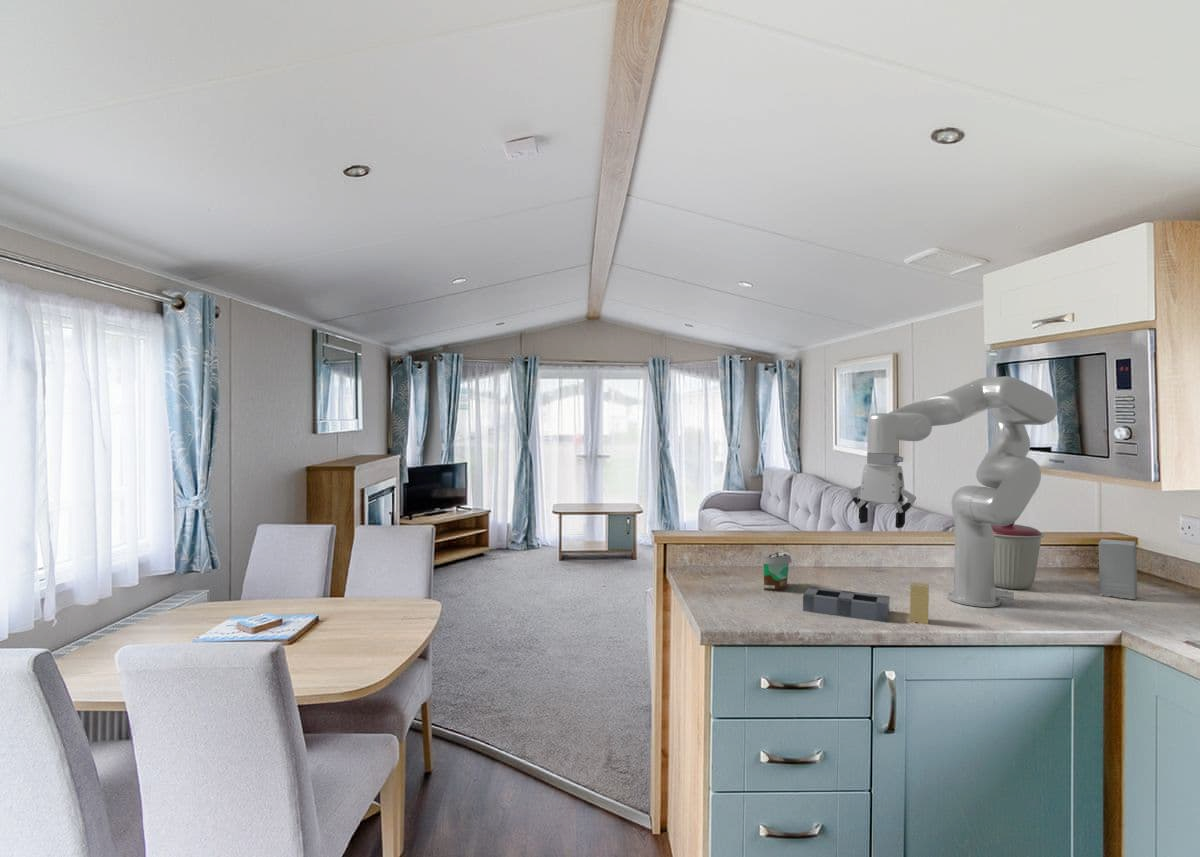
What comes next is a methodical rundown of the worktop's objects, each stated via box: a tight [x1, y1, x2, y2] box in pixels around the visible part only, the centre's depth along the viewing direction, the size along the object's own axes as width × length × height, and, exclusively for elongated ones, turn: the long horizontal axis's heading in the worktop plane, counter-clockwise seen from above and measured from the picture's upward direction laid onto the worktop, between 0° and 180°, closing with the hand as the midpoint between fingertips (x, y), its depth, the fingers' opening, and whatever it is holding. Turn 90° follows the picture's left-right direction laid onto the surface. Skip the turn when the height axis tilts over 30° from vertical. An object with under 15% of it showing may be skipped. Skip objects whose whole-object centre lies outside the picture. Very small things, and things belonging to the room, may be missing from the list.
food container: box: [762, 549, 792, 592], centre depth 193 cm, size 12×6×10 cm, turn 148°
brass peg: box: [909, 581, 930, 625], centre depth 163 cm, size 4×4×9 cm
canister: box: [990, 521, 1045, 590], centre depth 199 cm, size 18×18×21 cm
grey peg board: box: [802, 586, 891, 623], centre depth 171 cm, size 20×10×4 cm, turn 63°
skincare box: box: [1098, 538, 1138, 600], centre depth 188 cm, size 8×7×16 cm
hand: (881, 525), depth 174 cm, fingers open, 9 cm apart
